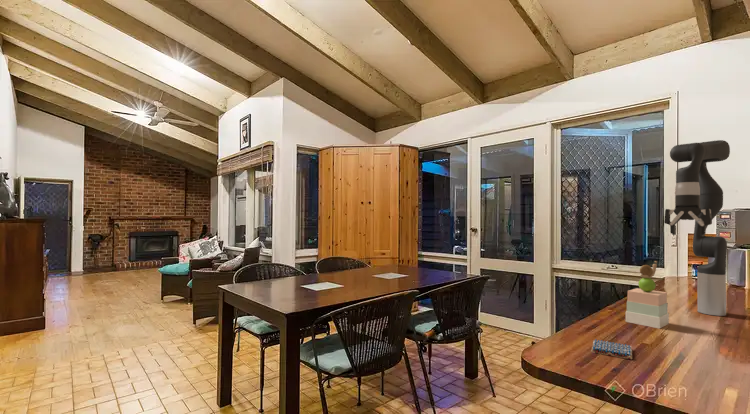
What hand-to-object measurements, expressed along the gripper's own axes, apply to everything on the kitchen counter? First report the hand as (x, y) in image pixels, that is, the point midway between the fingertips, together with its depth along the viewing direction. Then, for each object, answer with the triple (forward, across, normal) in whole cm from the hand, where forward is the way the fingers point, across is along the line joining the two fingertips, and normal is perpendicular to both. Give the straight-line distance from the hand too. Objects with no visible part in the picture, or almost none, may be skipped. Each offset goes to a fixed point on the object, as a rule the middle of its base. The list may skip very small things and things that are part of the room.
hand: (687, 235), depth 148 cm
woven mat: (+35, +5, +60) cm, 69 cm away
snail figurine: (+22, +9, +14) cm, 28 cm away
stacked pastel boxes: (+34, +10, +14) cm, 38 cm away
